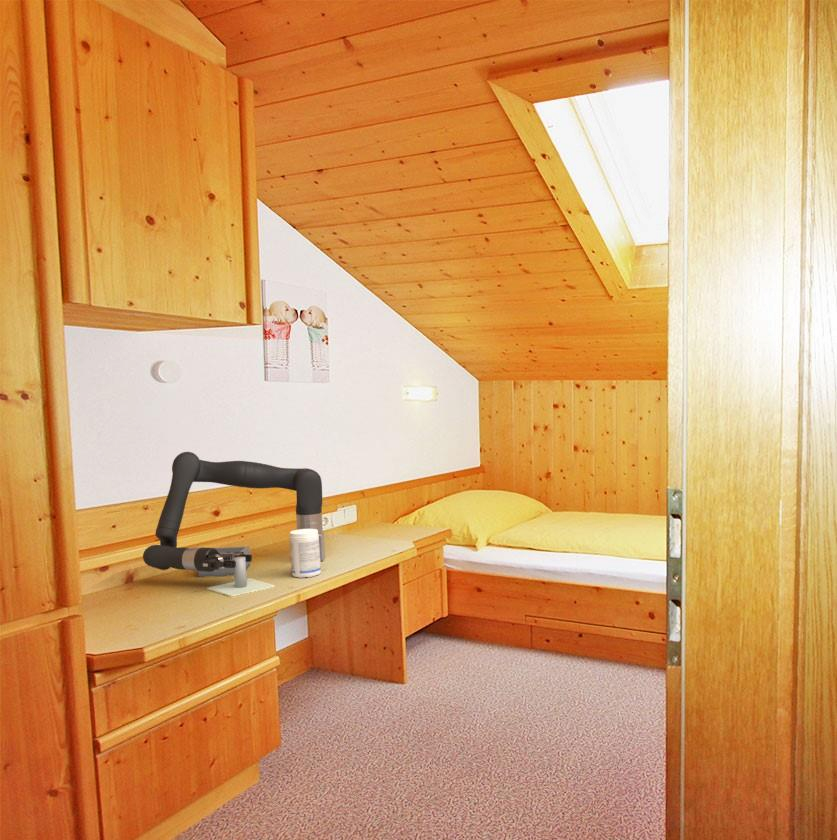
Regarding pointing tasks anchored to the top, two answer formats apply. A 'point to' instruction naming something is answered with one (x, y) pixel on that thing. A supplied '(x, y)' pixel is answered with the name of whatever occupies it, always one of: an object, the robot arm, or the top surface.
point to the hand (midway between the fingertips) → (243, 561)
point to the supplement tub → (305, 553)
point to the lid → (240, 582)
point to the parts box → (225, 570)
